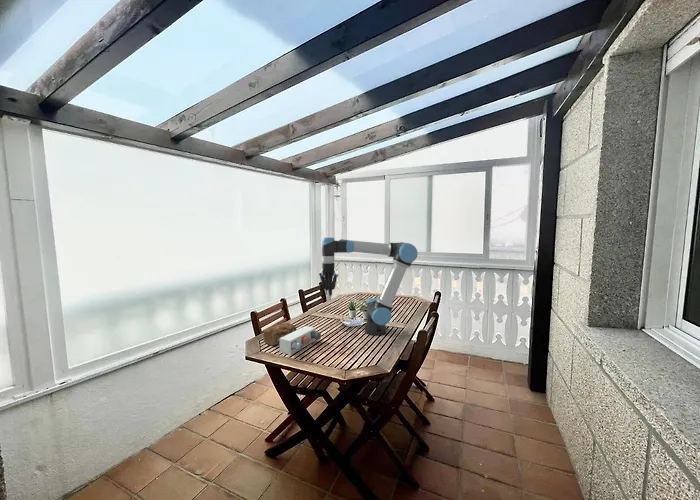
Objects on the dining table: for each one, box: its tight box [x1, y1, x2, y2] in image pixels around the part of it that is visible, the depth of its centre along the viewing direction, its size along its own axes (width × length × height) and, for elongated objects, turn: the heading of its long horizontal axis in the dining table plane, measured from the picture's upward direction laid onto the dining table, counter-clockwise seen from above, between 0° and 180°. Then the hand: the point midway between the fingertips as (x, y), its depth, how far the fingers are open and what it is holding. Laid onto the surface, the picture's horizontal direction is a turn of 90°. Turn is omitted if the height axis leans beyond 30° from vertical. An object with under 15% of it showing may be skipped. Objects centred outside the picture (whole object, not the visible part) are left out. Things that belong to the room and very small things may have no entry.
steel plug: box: [291, 342, 304, 352], centre depth 165 cm, size 11×5×5 cm, turn 61°
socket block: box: [279, 325, 317, 356], centre depth 174 cm, size 8×24×8 cm, turn 150°
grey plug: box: [311, 331, 322, 341], centre depth 180 cm, size 11×5×5 cm, turn 61°
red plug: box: [301, 336, 310, 346], centre depth 173 cm, size 11×5×5 cm, turn 61°
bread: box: [262, 322, 297, 347], centre depth 183 cm, size 19×11×10 cm, turn 137°
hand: (328, 300), depth 178 cm, fingers closed
